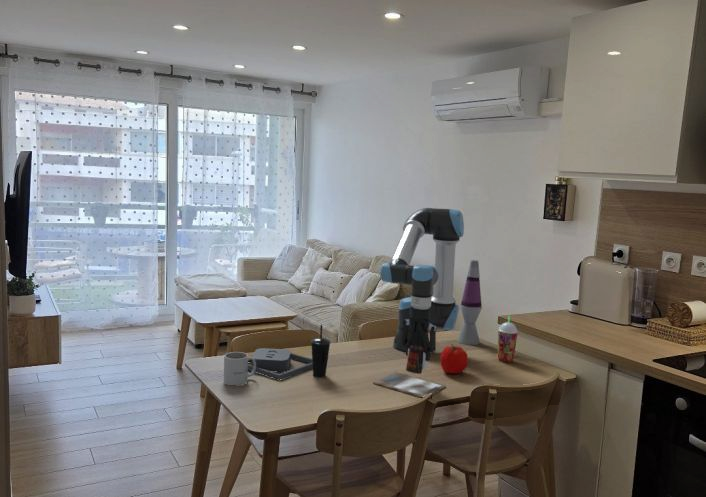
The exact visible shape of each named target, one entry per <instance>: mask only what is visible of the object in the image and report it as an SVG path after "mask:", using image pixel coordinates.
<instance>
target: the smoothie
mask: <svg viewBox="0 0 706 497" xmlns="http://www.w3.org/2000/svg"><path fill="white" fill-rule="evenodd" d="M510 318H511V316H510V315H508V317H507V321H506V322H503V323H501V325H500V326H499V328H497V358H498V361H499V362H501V363H506V364H507V363H512V362H513V360H514V359H515V354H516V353H515V352H516V346H517V339H518V333H519V331H518V329H517V326H516V325H515V324H514V323H512V322H510V321H511V320H510Z"/></svg>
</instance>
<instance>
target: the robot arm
mask: <svg viewBox="0 0 706 497" xmlns="http://www.w3.org/2000/svg"><path fill="white" fill-rule="evenodd" d="M464 224H465V223H464V215H463V213H462V212H461V211H460V210H458V209H453V208H436V207H435V208H433V207H432V208H431V207H423V208H421V209H418V210H417V211H415V212H413V213H412V214H411V215H410V216H408V217H407V219H406V220H405V221H404V224H403V227H402V235H401V237H400V240H399V242H398V244H397V246H396V249H395V250H394V252H393V255H392V258H391V260H390V262H384V263H383V264H382V265H381V267H380V272H379V274H380V279H381V281H382V282H385V283H386V282H387V283H390V284H399V285H401V284H402V285H408V286H411V293H410V295H411V296H408V297H404V298H402V299H401V300H400V301H399V307H398V321H397V322H398V323H397V331H396V334H395V337H394V339H393V341H392V342H393V343H392V347H393V348H394V349H396V350H399V351H402V352H405V355H406V356H407V357H408V355H409V350H410V344H411V339H412V335H413V332H414V331H419V332H421V335H422V336H423V343H424V348H425V352H423V365H422V371H423V370H424V371H425V370H426V369H428V368H429V366H428V365H429V361H430V360H431V353H433V352H435V351H436V350H437V349H436V345H437V344H436V343H437V340H436V338H437V337H436V336H437V335H436V334H437V329H438V330H442V331H443V330H446V331H450V330H451V331H452V330H453V329H454V328H455V326H456V322H457V319H458V315H459V309H460V308H459V305H458V304H457V303H456V299H455V298H454V296H453V294H454V293H453V292H454V279H455V278H454V276H455V275H454V274H455V264H456V263H455V258H456V245H457V244H458V243H459V241H460V239H461V238H462V237H464V234H465V232H464V230H465V225H464ZM424 235H432V240H433V241H434V242H435V256H434V266H433V265H427V264H416V265H410V264H411V261H412V259H413V256H414V254H415V252H416V249H417V247H418V244H419V241H420V239H421V238H422V237H423V236H424ZM432 291H433V292H432ZM428 329H429V330H428ZM407 361H408V358H407Z"/></svg>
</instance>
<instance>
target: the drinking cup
mask: <svg viewBox="0 0 706 497" xmlns="http://www.w3.org/2000/svg"><path fill="white" fill-rule="evenodd" d="M331 342H332V341H331V340H330V339H328V338H326V337H323V324H320V331H319V337H316V338H312V339H311V340H310V343H311V359H312V363H313V368H312V375H313V377H314V378H324V377H326V376H327V368H328V367H327V366H328V360H329V354H330V345H331Z"/></svg>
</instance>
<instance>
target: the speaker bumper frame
mask: <svg viewBox="0 0 706 497" xmlns="http://www.w3.org/2000/svg"><path fill="white" fill-rule="evenodd" d="M250 357H252V355H251V356H250ZM292 358H293V359H292ZM291 359H292V360H295V359H296V360H295V361H298V360H299V361H298V362H301V363H306V364H304V365H302V366H299V367H298V366H297V367H295V368H293V369H289V370H288V371H286V372H280V373H278V372H271V371H268V370H265V369H262V368H259V367H256V370H255V372H258V373H261V374H264V375H267V376H269V377H268V378H270V377H273V378H275V379H274V380H276V379H279V380H280V379H282V380H284V379H283V378H285V379H287V378H286V377H288V378H290V377H293V376H296V375H298V373H299V374H301V373H304V372H306V370H307V371H309V370H311V369H312V370H313V363H312V357H308V356H307V357H306V356H304V355H300V354H297V353H293V352H291ZM248 362H251V360H248ZM308 363H309V364H308ZM249 370H253V365H251V364H250V363H248V371H249ZM258 373H257V374H258ZM261 374H260V375H261ZM295 374H296V375H295ZM264 375H263V376H264ZM292 375H293V376H292ZM267 376H266V377H267ZM289 376H290V377H289ZM273 378H272V379H273ZM279 380H278V381H279ZM280 381H281V380H280Z"/></svg>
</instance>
